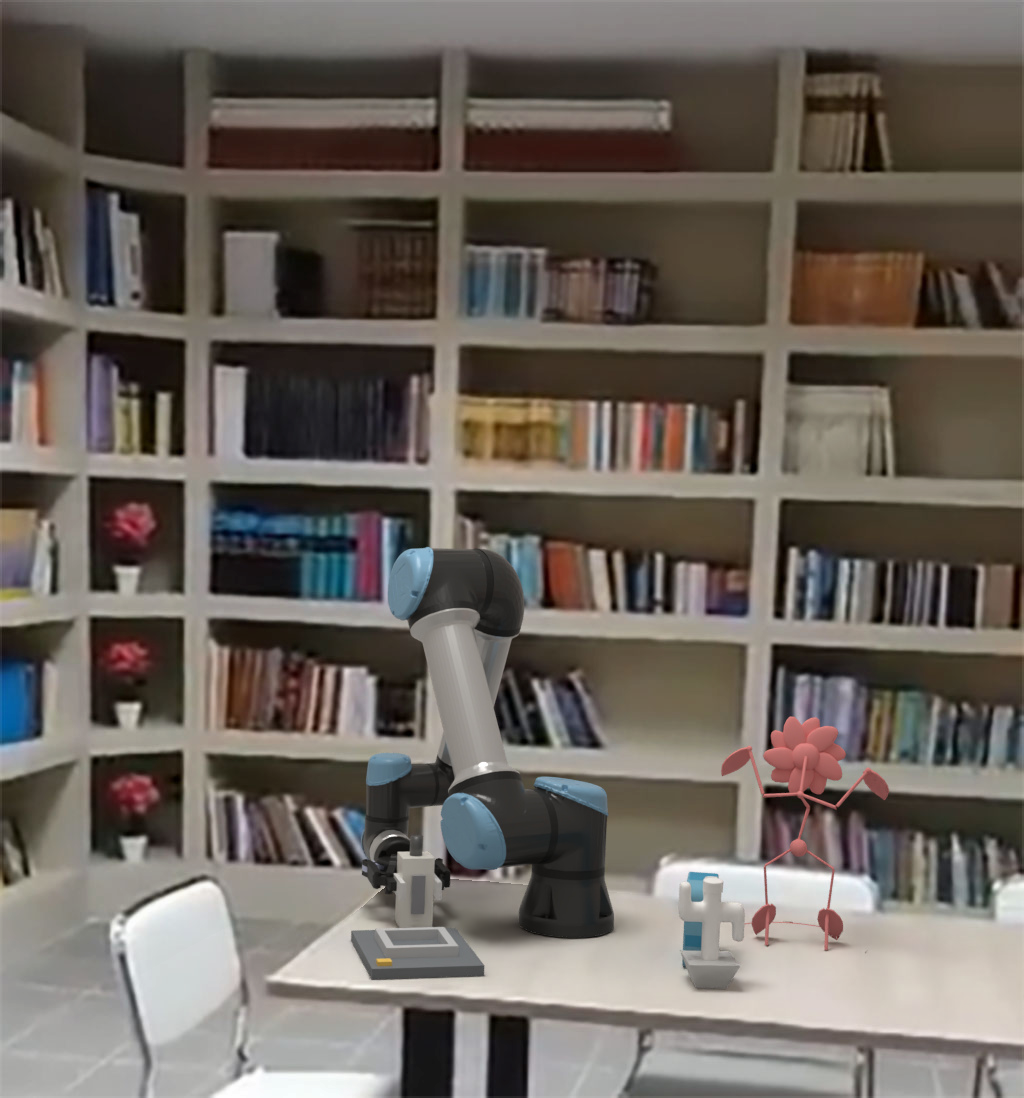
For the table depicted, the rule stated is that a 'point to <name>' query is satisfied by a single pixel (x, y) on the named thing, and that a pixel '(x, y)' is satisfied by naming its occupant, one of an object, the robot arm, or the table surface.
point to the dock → (416, 953)
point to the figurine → (711, 934)
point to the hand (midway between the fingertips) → (421, 891)
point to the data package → (694, 929)
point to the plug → (415, 886)
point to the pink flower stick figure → (803, 764)
